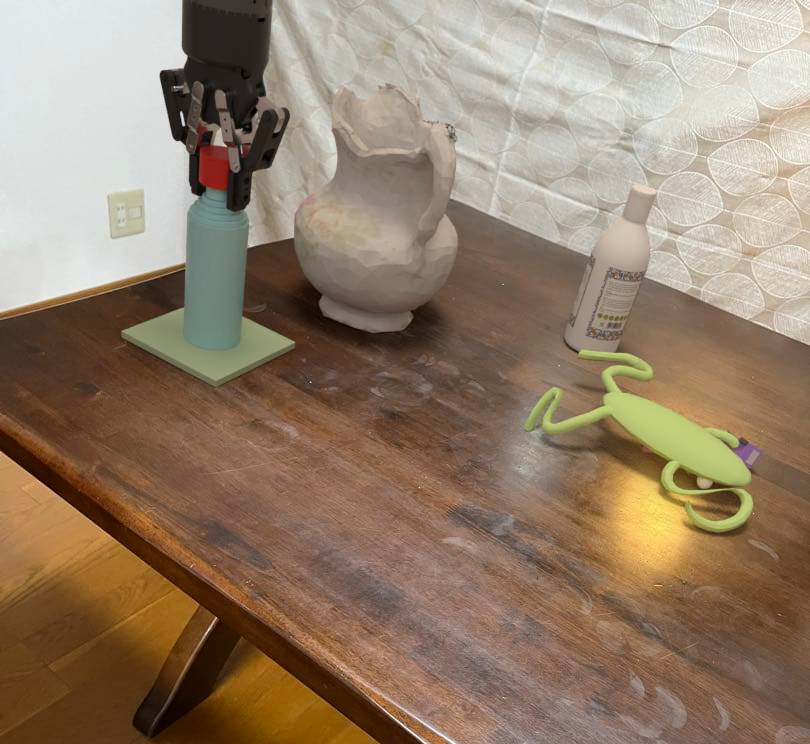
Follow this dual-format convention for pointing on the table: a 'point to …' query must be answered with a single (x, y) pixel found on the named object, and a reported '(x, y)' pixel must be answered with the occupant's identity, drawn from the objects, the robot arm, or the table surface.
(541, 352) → the table surface
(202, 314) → the bottle
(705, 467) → the figurine
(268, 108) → the robot arm
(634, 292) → the bath foam
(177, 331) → the mat
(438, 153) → the ceramic pitcher
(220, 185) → the cap
